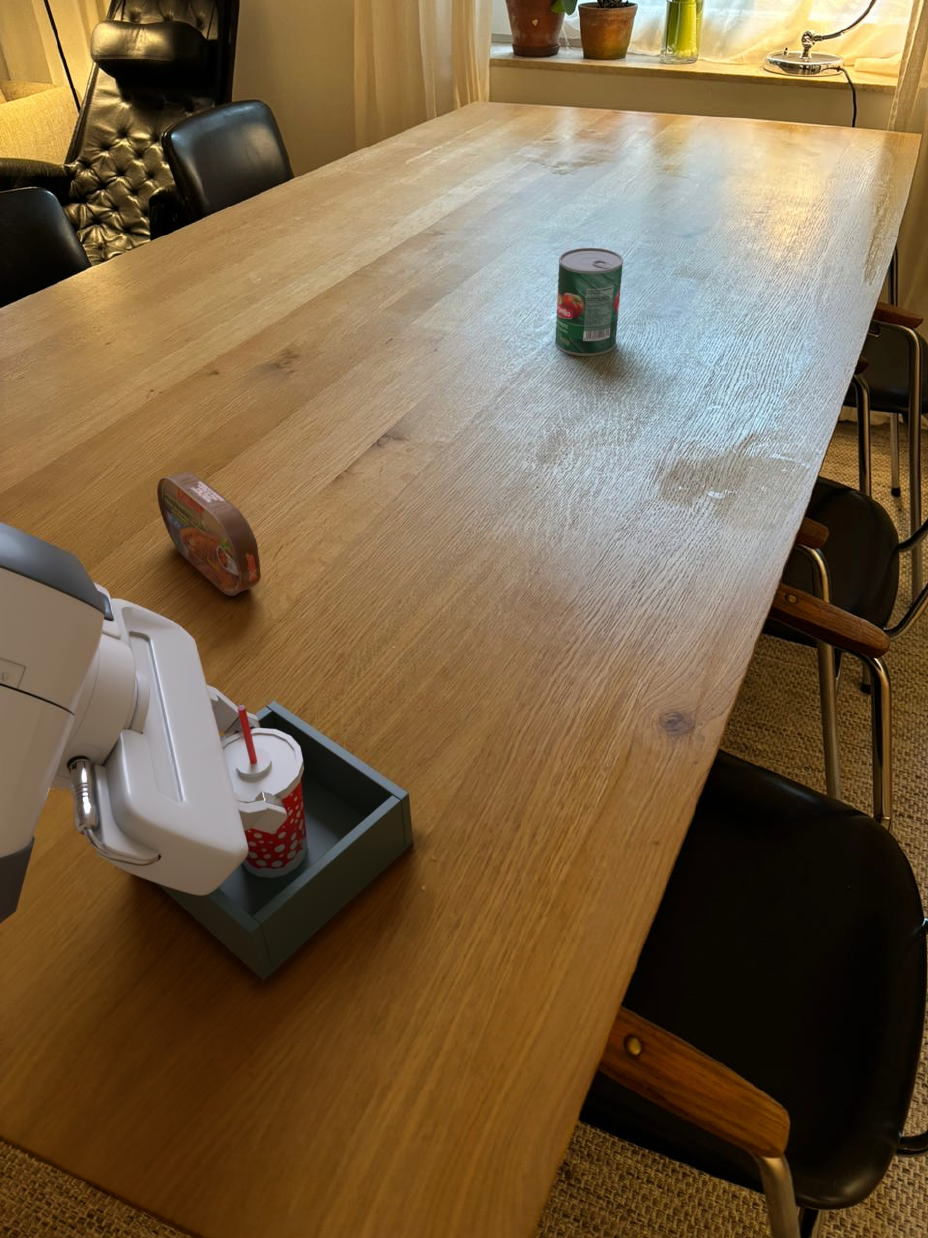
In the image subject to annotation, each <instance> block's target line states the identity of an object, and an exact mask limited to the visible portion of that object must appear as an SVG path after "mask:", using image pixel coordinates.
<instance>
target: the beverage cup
mask: <svg viewBox="0 0 928 1238" xmlns="http://www.w3.org/2000/svg"><path fill="white" fill-rule="evenodd" d="M237 709H238V714H239V718H240V722H241V726H242V731H243V732H238V733H236V734H234V735H232V736H230V737H229V738H227V739H225V740H223V741H222V742H221V743H222V747H223V751H224V755H225V759H226V762H227V766H228V770H229V774H230V778H231V782H232V786H233V790H234V793H237V794H240V795H243V796H244V798H245V802H244V803H251V802H254V801H255V798H256V797H257V796H258V795H259V794H260V793H261V791H264V792H268V793H271V794H272V795H273V796H276V795H277V796H280V797H281V798H282V801H283V804H284V807H285V810H286V813H287V820H286V821H285V822H284V823H283V824H282V825H281V826H280V827H279V828H278V829H277V830H276V831H274V832H271V833H267V832H264V831H260V830H256V829H253V828H250V829H248V830H246V831H244V832H245V836H246V840H247V844H248V855H247V857H246V858H245V860H244V861H243V862H242V864H243V865H244V866H245V868H246V869H247V870H248V871H249V872H251V873H252V874H254V875H256V876H258V877H267V878H274V877H278V876H282V875H285V874H287V873H289V872H290V871H292V870H294V869H295V868H297V867H298V865H299V864H300V863H301V862H302V861H303V859H304V858H305V854H306V851H307V848H308V847H307V836H306V825H305V815H304V804H303V794H302V783H301V776H302V773H303V770H304V766H303V758H302V753H301V748H300V746H299V745H298V744H297V742H296V741H295V740H294V739H293V738H292V737H291V736H290V735H288V734H285V733H283V732H281V731H279V730H276V729H266V728H255V729H250V726H249V721H248V717H247V713H246V712H247V709H246V706H245V704H239V705H238V706H237Z"/></svg>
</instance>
